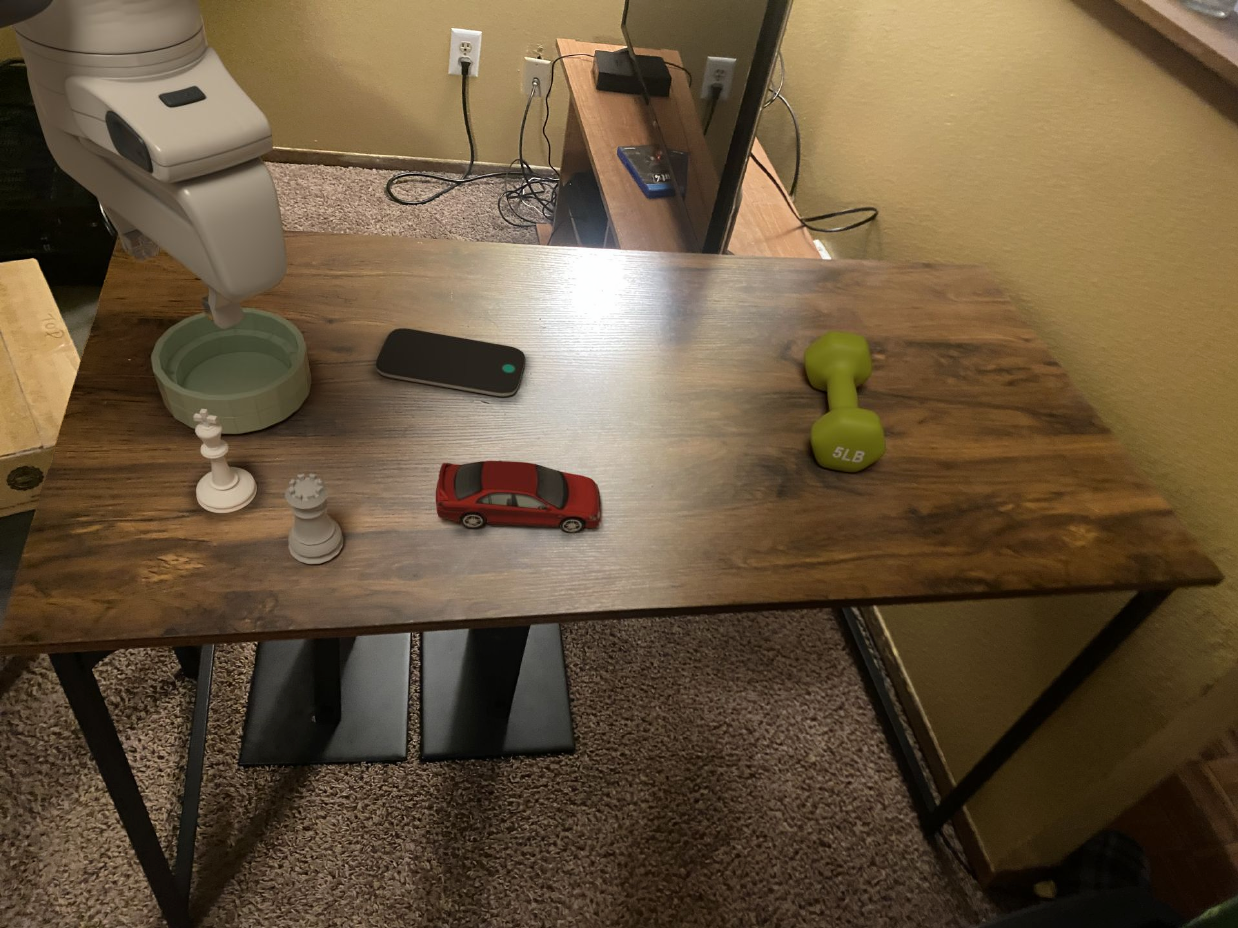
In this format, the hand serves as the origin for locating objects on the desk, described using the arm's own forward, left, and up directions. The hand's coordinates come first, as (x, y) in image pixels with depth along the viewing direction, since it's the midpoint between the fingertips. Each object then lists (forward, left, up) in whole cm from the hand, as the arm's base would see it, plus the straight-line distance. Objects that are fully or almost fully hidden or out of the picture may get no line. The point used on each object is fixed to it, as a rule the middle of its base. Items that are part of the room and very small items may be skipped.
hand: (183, 286), depth 55 cm
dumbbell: (+60, -6, -24) cm, 65 cm away
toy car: (+23, -7, -24) cm, 34 cm away
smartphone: (+23, +14, -24) cm, 36 cm away
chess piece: (-1, +3, -24) cm, 24 cm away
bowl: (+2, +16, -24) cm, 29 cm away
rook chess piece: (+5, -5, -24) cm, 25 cm away
